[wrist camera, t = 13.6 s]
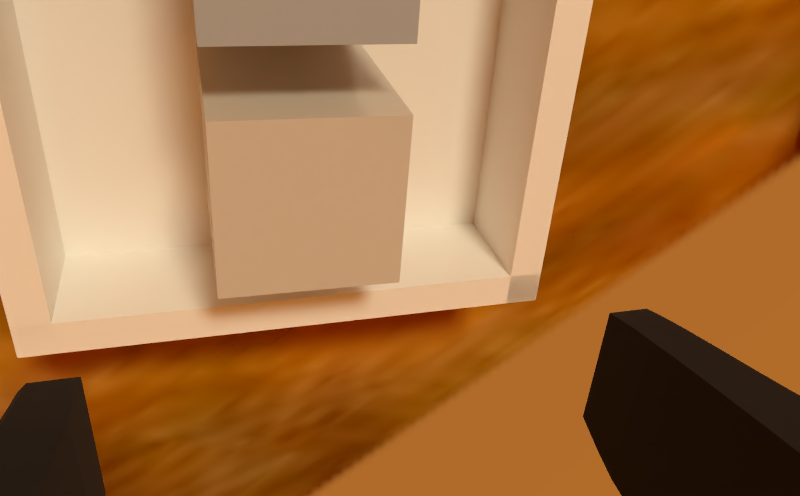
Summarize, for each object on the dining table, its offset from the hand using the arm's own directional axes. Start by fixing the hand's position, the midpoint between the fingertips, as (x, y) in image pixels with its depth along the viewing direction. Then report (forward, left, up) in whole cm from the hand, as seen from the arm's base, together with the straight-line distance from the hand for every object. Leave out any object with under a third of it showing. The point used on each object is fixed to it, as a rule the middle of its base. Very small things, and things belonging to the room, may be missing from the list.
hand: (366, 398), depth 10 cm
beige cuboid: (0, 0, -9) cm, 9 cm away
